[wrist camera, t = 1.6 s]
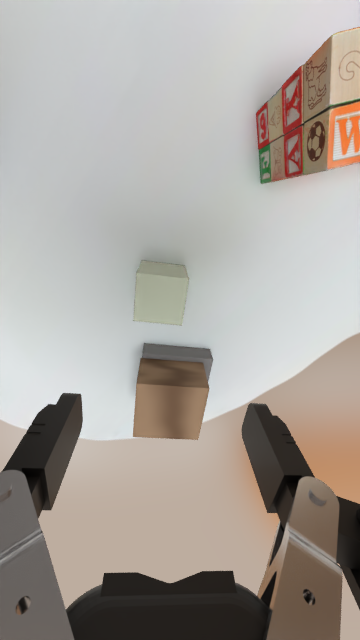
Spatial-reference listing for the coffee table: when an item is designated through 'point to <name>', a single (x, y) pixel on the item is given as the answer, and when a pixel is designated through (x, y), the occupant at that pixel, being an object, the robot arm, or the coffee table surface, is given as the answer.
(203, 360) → the charcoal slab
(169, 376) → the walnut block
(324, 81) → the stack of blocks
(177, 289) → the sage block
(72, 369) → the coffee table surface
